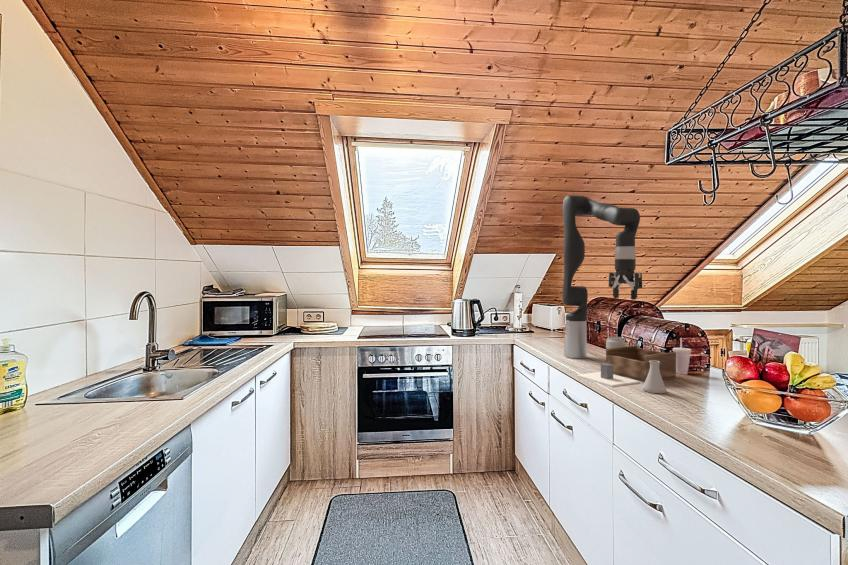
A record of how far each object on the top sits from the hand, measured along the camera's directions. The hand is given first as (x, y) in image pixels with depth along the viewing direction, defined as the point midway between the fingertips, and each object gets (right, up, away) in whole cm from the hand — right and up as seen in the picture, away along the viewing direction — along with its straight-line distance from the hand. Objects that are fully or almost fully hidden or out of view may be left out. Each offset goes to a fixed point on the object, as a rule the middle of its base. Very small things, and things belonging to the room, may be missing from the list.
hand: (624, 298), depth 171 cm
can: (+1, -29, +12) cm, 31 cm away
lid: (-13, -30, -13) cm, 35 cm away
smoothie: (+20, -29, -4) cm, 36 cm away
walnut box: (+3, -29, -6) cm, 30 cm away
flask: (-4, -30, -29) cm, 42 cm away
